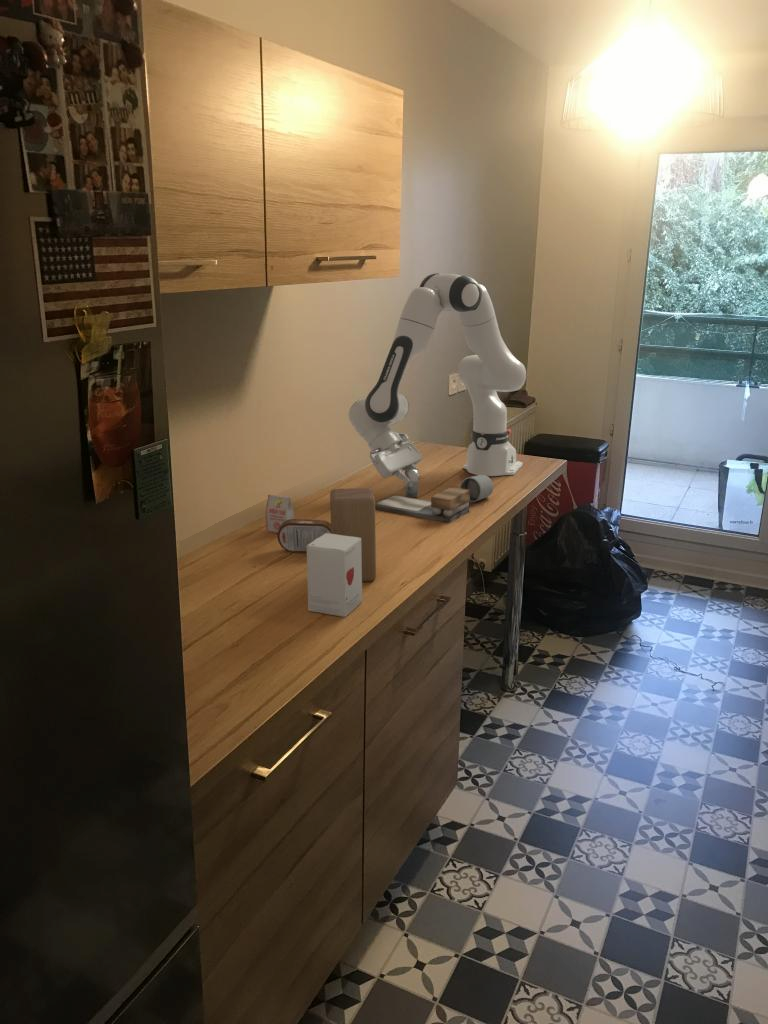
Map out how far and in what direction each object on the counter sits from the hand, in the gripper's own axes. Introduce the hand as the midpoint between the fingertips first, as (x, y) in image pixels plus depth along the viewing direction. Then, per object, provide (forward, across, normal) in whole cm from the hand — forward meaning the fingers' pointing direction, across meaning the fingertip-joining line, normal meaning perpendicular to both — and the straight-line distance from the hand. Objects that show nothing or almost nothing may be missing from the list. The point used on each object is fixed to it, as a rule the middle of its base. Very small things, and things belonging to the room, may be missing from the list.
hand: (413, 480), depth 255 cm
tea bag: (-7, -46, +14) cm, 49 cm away
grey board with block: (+10, -10, -2) cm, 14 cm away
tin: (+5, -55, +3) cm, 55 cm away
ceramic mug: (+16, +8, -7) cm, 19 cm away
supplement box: (+23, -79, -16) cm, 84 cm away
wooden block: (+18, -62, -11) cm, 66 cm away
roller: (+3, 0, +4) cm, 5 cm away
